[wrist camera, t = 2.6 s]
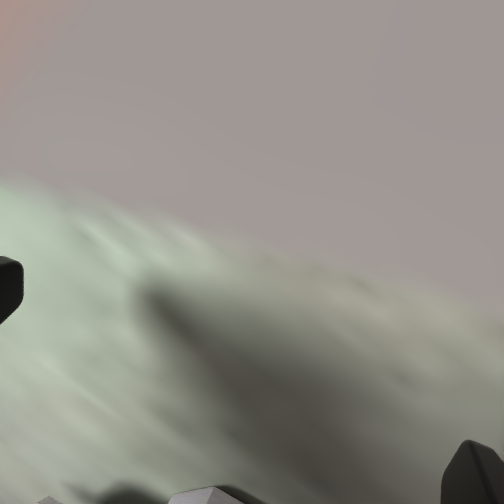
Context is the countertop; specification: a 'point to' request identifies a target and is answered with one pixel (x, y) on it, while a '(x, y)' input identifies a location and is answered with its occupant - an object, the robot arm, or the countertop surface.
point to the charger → (185, 497)
